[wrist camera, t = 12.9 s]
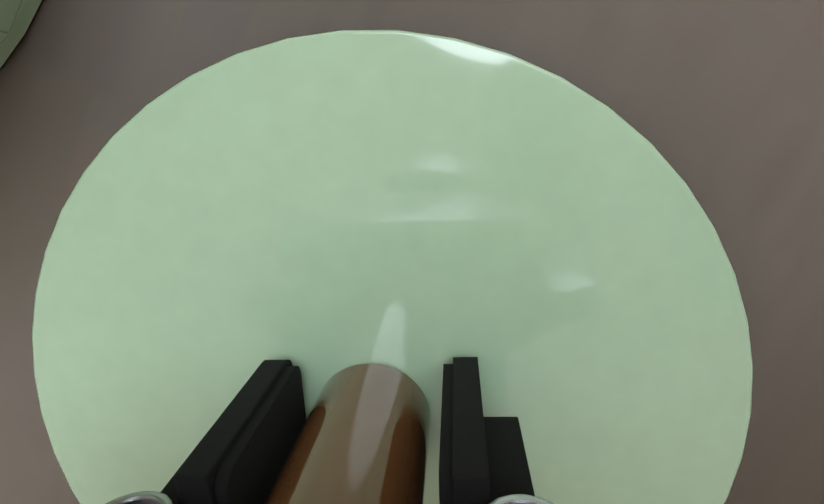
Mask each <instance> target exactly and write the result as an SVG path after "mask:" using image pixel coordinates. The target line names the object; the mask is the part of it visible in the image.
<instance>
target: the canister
mask: <svg viewBox="0 0 824 504" xmlns="http://www.w3.org/2000/svg"><path fill="white" fill-rule="evenodd" d="M41 2H42V0H0V68H1V67H2V66H3V64H4V63H5V62H6V60H7V59H8V57H9V56H10V55H11V53H12V52H13V50H14V49H15V48H16V46H17V45H18V43H19V42H20V41H21V39H22V38H23V36H24V35H25V33H26V31H27V29H28V27H29V25H30V23H31V22H32V20H33V18H34V16H35V14H36V12H37V10H38V8H39V6H40V4H41Z"/></svg>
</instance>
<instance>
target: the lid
mask: <svg viewBox="0 0 824 504" xmlns="http://www.w3.org/2000/svg"><path fill="white" fill-rule="evenodd" d="M32 344H33V363H34V377H35V382H36V388H37V393H38V398H39V403H40V409H41V414H42V417H43V421H44V424H45V427H46V430H47V433H48V436H49V439H50V442H51V445H52V448H53V451H54V454H55V456H56V458H57V460H58V462H59V465H60V467H61V469H62V471H63V473H64V475H65V477H66V480H67V482H68V484H69V486H70V488H71V490H72V492H73V493H74V495H75V496H76V498H77V500H78V501H79V503H80V504H106V503H108V502H110V501H111V500H113V499H115V498H118V497H121V496H124V495H127V494H130V493H135V492H141V491H157V492H161V491H162V490H163V488H164V487H165V486H166V484H167V483H168V482H169V481H170V479H171V478H172V477H173V475H174V474H175V473H176V472H177V470H178V469H179V468H180V466H181V465H182V464H183V463H184V461H185V460H186V459H187V457H188V456H189V455H190V454H191V452H192V451H193V450H194V449H195V447H196V446H197V445H198V443H199V442H200V441H201V440H202V438H203V437H204V436H205V435H206V433H207V432H208V431H209V429H210V428H211V427H212V426H213V424H214V423H215V422H216V420H217V419H218V418H219V417H220V415H221V414H222V413H223V412H224V410H225V409H226V408H227V406H228V405H229V404H230V403H231V401H232V400H233V399H234V398H235V396H236V395H237V394H238V392H239V391H240V390H241V389H242V387H243V386H244V385H245V383H246V382H247V381H248V380H249V378H250V377H251V376H252V375H253V373H254V372H255V371H256V369H257V368H258V367H259V366H260V364H261V363H262V362H263V361H264V360H290V361H291V362H292V365H293V366H299V367H300V370H301V377H302V386H303V394H304V403H305V412H306V422H305V424H304V426H303V428H302V430H301V432H300V434H299V436H298V438H297V440H296V442H295V444H294V446H293V448H292V450H291V452H290V454H289V456H288V458H287V460H286V462H285V464H284V466H283V469H282V471H281V473H280V475H279V477H278V479H277V481H276V483H275V485H274V487H273V489H272V491H271V493H270V495H269V497H268V499H267V501H266V503H265V504H440V503H439V453H440V430H441V407H442V384H443V364H453V357H478V365H479V376H480V386H481V396H482V406H483V416H484V417H518V420H519V424H520V428H521V433H522V438H523V442H524V447H525V452H526V456H527V461H528V466H529V471H530V475H531V480H532V485H533V489H534V494H535V496H537V497H540V498H543V499H545V500H547V501H550V502H552V503H554V504H724V503H725V502H726V500H727V498H728V495H729V493H730V490H731V487H732V484H733V481H734V479H735V476H736V473H737V470H738V468H739V465H740V462H741V459H742V456H743V451H744V446H745V441H746V436H747V431H748V426H749V421H750V416H751V402H752V378H753V363H752V355H751V346H750V337H749V328H748V320H747V316H746V313H745V309H744V305H743V302H742V298H741V294H740V291H739V287H738V283H737V280H736V276H735V272H734V270H733V268H732V266H731V263H730V261H729V259H728V257H727V254H726V252H725V250H724V248H723V245H722V243H721V241H720V239H719V236H718V234H717V232H716V230H715V228H714V226H713V224H712V223H711V221H710V219H709V218H708V216H707V215H706V213H705V212H704V210H703V209H702V207H701V205H700V204H699V202H698V201H697V199H696V198H695V196H694V195H693V193H692V191H691V190H690V188H689V187H688V185H687V184H686V182H685V181H684V180H683V179H682V178H681V177H680V175H679V174H678V173H677V172H676V171H675V170H674V169H673V167H672V166H671V165H670V164H669V163H668V162H667V161H666V159H665V158H664V157H663V156H662V155H661V154H660V153H659V151H658V150H657V149H656V148H655V147H654V146H653V145H652V143H651V142H650V141H648V140H647V139H646V138H645V137H644V136H643V135H641V134H640V133H639V132H638V131H637V130H636V129H634V128H633V127H632V126H631V125H630V124H628V123H627V122H626V121H625V120H624V119H623V118H621V117H620V116H619V115H618V114H617V113H616V112H614V111H613V110H612V109H611V108H610V107H608V106H607V105H605V104H604V103H602V102H601V101H599V100H597V99H596V98H594V97H593V96H591V95H589V94H588V93H586V92H585V91H583V90H582V89H580V88H578V87H577V86H575V85H574V84H572V83H570V82H569V81H567V80H566V79H564V78H563V77H561V76H559V75H556V74H554V73H552V72H550V71H547V70H545V69H543V68H541V67H538V66H536V65H534V64H532V63H530V62H527V61H525V60H523V59H521V58H518V57H516V56H514V55H512V54H509V53H506V52H502V51H499V50H496V49H492V48H489V47H485V46H482V45H478V44H475V43H471V42H468V41H464V40H461V39H457V38H453V37H446V36H439V35H432V34H425V33H417V32H410V31H403V30H339V31H332V32H326V33H319V34H312V35H305V36H298V37H291V38H287V39H283V40H280V41H277V42H273V43H270V44H266V45H263V46H260V47H256V48H253V49H250V50H246V51H243V52H240V53H237V54H235V55H233V56H230V57H228V58H226V59H224V60H222V61H220V62H218V63H215V64H213V65H211V66H209V67H207V68H205V69H203V70H200V71H198V72H196V73H194V74H192V75H190V76H189V77H187V78H186V79H184V80H183V81H181V82H180V83H178V84H177V85H175V86H174V87H172V88H171V89H169V90H168V91H166V92H165V93H163V94H161V95H160V96H158V97H157V98H155V99H154V100H152V101H151V102H150V103H148V104H147V105H146V106H145V107H144V108H143V109H142V110H141V111H140V112H138V113H137V114H136V115H135V116H134V117H133V118H132V119H131V120H130V121H129V122H127V123H126V124H125V125H124V126H123V127H122V128H121V129H120V130H119V131H118V132H116V133H115V134H114V135H113V137H112V138H111V139H110V140H109V141H108V143H107V144H106V145H105V146H104V148H103V149H102V150H101V151H100V153H99V154H98V155H97V156H96V157H95V159H94V160H93V161H92V162H91V164H90V165H89V166H88V167H87V169H86V170H85V171H84V173H83V174H82V176H81V178H80V179H79V181H78V183H77V185H76V186H75V188H74V190H73V191H72V193H71V195H70V196H69V198H68V200H67V202H66V203H65V205H64V207H63V208H62V210H61V213H60V215H59V218H58V220H57V223H56V225H55V228H54V230H53V233H52V235H51V238H50V240H49V243H48V245H47V248H46V250H45V254H44V258H43V263H42V267H41V271H40V276H39V280H38V284H37V288H36V293H35V304H34V316H33V328H32Z"/></svg>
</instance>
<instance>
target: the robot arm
mask: <svg viewBox="0 0 824 504" xmlns="http://www.w3.org/2000/svg"><path fill="white" fill-rule="evenodd" d="M305 422H306V412H305V403H304V394H303V386H302V377H301V370H300V367H299V366H293V365H292V362H291V361H290V360H264V361H263V362H262V363H261V364H260V366H259V367H258V368H257V369H256V371H255V372H254V373H253V375H252V376H251V377H250V378H249V380H248V381H247V382H246V383H245V385H244V386H243V387H242V389H241V390H240V391H239V392H238V394H237V395H236V396H235V398H234V399H233V400H232V401H231V403H230V404H229V405H228V406H227V408H226V409H225V410H224V412H223V413H222V414H221V415H220V417H219V418H218V419H217V420H216V422H215V423H214V424H213V426H212V427H211V428H210V429H209V431H208V432H207V433H206V435H205V436H204V437H203V438H202V440H201V441H200V442H199V443H198V445H197V446H196V447H195V449H194V450H193V451H192V452H191V454H190V455H189V456H188V457H187V459H186V460H185V461H184V463H183V464H182V465H181V466H180V468H179V469H178V470H177V472H176V473H175V474H174V475H173V477H172V478H171V479H170V481H169V482H168V483H167V484H166V486H165V487H164V488H163V490H162V491H161V492H157V491H141V492H135V493H130V494H127V495H124V496H121V497H118V498H115V499H113V500H111V501H110V502H108V503H106V504H265V503H266V501H267V499H268V497H269V495H270V493H271V491H272V489H273V487H274V485H275V483H276V481H277V479H278V477H279V475H280V473H281V471H282V469H283V466H284V464H285V462H286V460H287V458H288V456H289V454H290V452H291V450H292V448H293V446H294V444H295V442H296V440H297V438H298V436H299V434H300V432H301V430H302V428H303V426H304V424H305ZM439 503H440V504H554V503H552V502H550V501H547V500H545V499H543V498H540V497H537V496H535V494H534V489H533V485H532V480H531V475H530V471H529V466H528V461H527V456H526V452H525V447H524V442H523V438H522V433H521V428H520V424H519V420H518V417H484V416H483V406H482V396H481V386H480V376H479V365H478V357H453V364H443V384H442V407H441V430H440V453H439Z"/></svg>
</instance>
